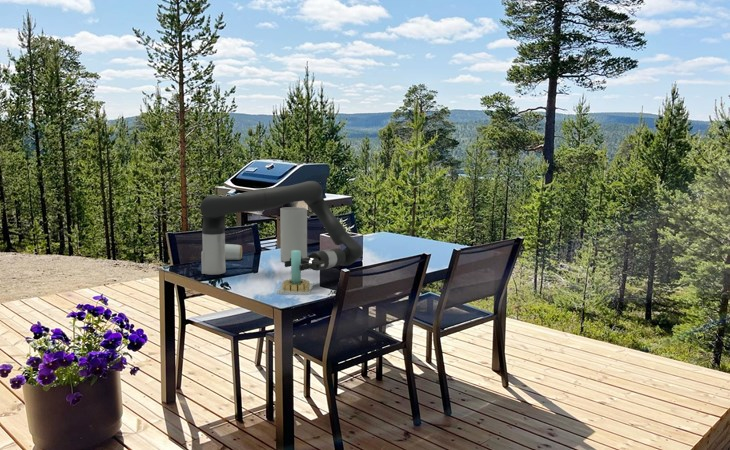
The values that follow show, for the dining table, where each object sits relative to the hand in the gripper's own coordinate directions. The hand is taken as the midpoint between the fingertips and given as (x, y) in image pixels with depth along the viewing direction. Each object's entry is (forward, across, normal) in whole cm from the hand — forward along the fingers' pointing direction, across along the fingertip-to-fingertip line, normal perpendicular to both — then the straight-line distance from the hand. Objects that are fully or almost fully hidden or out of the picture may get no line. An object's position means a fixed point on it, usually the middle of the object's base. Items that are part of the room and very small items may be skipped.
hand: (292, 266), depth 206 cm
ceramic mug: (-18, -64, +10) cm, 67 cm away
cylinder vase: (-36, -41, +10) cm, 56 cm away
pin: (-2, 0, +8) cm, 9 cm away
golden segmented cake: (-2, 0, +10) cm, 10 cm away
